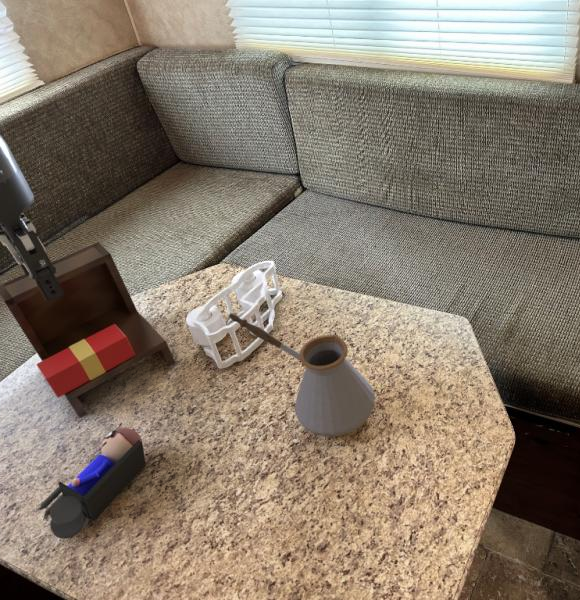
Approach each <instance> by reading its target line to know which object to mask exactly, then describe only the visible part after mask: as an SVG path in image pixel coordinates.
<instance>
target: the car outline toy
mask: <svg viewBox="0 0 580 600" xmlns="http://www.w3.org/2000/svg"><path fill="white" fill-rule="evenodd" d="M262 269H266V270H265V271H264V272H263V271H261V270H262ZM276 269H277V268H276V265H275V261H273V260H271V259H269V260H264V261H259V262H256V263H254V264H252V265H250V266H248V268H245V269H244V270H242V271H240V272H238V273H236V274H235V275H234V276H233V277H232V280H231V283H230V284H229V285H228V286H226V287H225V288H223V289H222V290H220V291H219V292H217V293H216V294H214V295H213V296H212V297H211V298H210V299H208V300H207V301H206V302H205V303H204V305H200V306H198V307H196V308H194V309H192V310H191V311H190V312H189V313H188V314H187V316H186V319H185V322H186V324H187V327H188V330H189V332H190V334H191V337H192V339H193V341H194V343H195V344H197V345H199V346H203V350H204V353H205V355H206V356H207V357H210V358H211V359H212V360H213V361H214V362H215V364H216V366H217V368H218V369H220V370H223V369H226V368H229V367H230V366H232V365H233V364H235V363H237V362H243V360H245V359H246V358H247V357H248V356H249V355H251V354H252V353H253V352H254V351H255V350H256V349H258V348H259V346H261V345H262V343H264V342H265V340H263V339H261V338H259V337H257V338H256V339H255V340H253V342H251V343H250V344H249V345H248V346H247V347H246V348H244V350H242V349H241V346H240V343H239V340H238V338H237V335H236V331H237V330H238V329H239V328H241V326H240V324H239V323H238V322H235V321H233V322H232V323H231V324H230V325H226V321H225V319H224V317H223V314H222V311H221V309H220V308H219V307H218V306H217V305H216V304H217V303H219V302H220V301H221V300H223V299H224V303H225V305H226V308H227V311H228V314H229V315H230V314H233V313H235V311H234V308H233V305H232V302H231V299H230V296H229V294H232V293H234V294H235V296H236V299H237V302H238V304H240V306H241V308H242V309H241V311H239V312H238V313H236V314H237V316H239V318H241V319H246V320H247V322H248V323H250V324H252V325H255V326H257V327H260V328H261V329H263V330H264V331H266V332H267V333H269V334H270V333H271V332H272V331H273V330H274V320H275V317H276V312H275V306H276V305H277V304H278V303H279V302H281V300H282V298H283V292H282V289H281V287H280V283H279V280H278V279H279V278H278V276H277V271H276ZM270 277H271V278H272V281H273V285H274V287H273V288H269V287H268V283H267V282H268V281H267V280H268V279H269V278H270ZM271 296H274V297H273V298H272V297H271ZM265 302H266V304H267V307H268V309H267V310H266V311H265V312H264V313H262V315H261V313H260V307H261V306H262V305H263V304H264V303H265ZM234 315H235V314H234ZM253 316H255V320H254V322H253V320H252V317H253ZM267 320H268V324H267V325H266V326H265V325H264V323H265V322H266V321H267ZM231 321H232V319H231V318H230V319H229V320H228V322H227V324H229V323H230V322H231ZM248 331H249V330H248ZM227 334H229V335H230V339H231V342H232V344H233V347H234V350H235V353H234V354H233V355H231V356H229V357H228V358H227V359H225V360H222V357H221V355H220V352H219V349H218V347H217V343H219V342H220V341H222V340H223V339H224V338H225V337H226V336H227ZM249 334H250V335H252V336H254V337H256V336H255V335H254V334H253V333H252V332H250V331H249Z"/></svg>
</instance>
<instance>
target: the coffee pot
mask: <svg viewBox="0 0 580 600" xmlns="http://www.w3.org/2000/svg"><path fill="white" fill-rule="evenodd" d="M234 314H235V315H234ZM237 314H238V313H237V312H235V311H234V313H233V314H229V315H228V317H227V320H226V321H225V322H226V325H230V324H231V323H232V322H233V321H235V322H238V323H239V324H240V328H245V329H246V330H248V331H250V332H252V333H253V334H254V335H255V336H254V335H253V336H254V337H257V338H258V337H259V338H261V339H263V340H264V342H266V343H269V344H271V345H273V346H274V347H276V348H278V349H280V350H282V351H284V352H285V353H287V354H288V355H289V356H292V357H293V358H294V359H296V360H297V361H300V363H301V364H302V365H303V366H304V367H305V370H304V373H303V375H302V380H301V382H300V385H299V389H298V392H297V395H296V399H295V403H294V411H295V412H294V413H295V416H296V418H297V420H298V422H299V423H300V424H301V426H303V427H304V429H306V430H307V431H308V432H311V433H313V434H314V435H317V436H320V437H325V438H326V437H327V438H330V437H331V438H332V437H333V438H334V437H341V436H344V435H347V434H350V433H352V432H354V431H356V430H357V429H359V428H360V427H362V426H363V425H364V424H365V423H366V421H367V420H368V419H369V418H370V416H371V414H372V412H373V410H374V408H375V400H376V396H375V392H374V388H373V386H372V385H371V384H370V382H369V381H368V380H367V378H365V377H364V376H363V375H362V374H361V372H360V371H359V370H358V369H357V368H356V367H355V366H354V365H353V364H352V363H351V361H349V359H347V356H348V352H349V348H348V344H346V341H344V339H343V338H342V337H341V336H339V335H337V334H327V335H326V334H324V335H320V336H316V337H314V338H311V339H310V340H308V341H307V342H306V343H304V344H303V346H302V348H301V349H300V351H297V350H295V349H294V348H292V347H289V345H286V344H285V343H284V342H282V341H280V340H279V339H278V338H276V337H275V336H273V335H272V334H270V333H267V332H266V331H264V330H263V329H261V328H260V327H257V326H255V325H252V324H250V323H248V322H247V320H246V319H241V318H239V316H237ZM229 319H232V321H231V322H230V323H229V324H227V322H228V320H229ZM250 332H249V333H250Z"/></svg>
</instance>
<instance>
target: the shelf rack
mask: <svg viewBox="0 0 580 600" xmlns="http://www.w3.org/2000/svg"><path fill="white" fill-rule="evenodd" d="M51 263H52V265H53V266H54V267H55V268H56V272H57V273H55V274H54V275H55V277H56V279H57V281H58V283H59V284H60V286H61V288H62V290H63V292H64V295H63V296H62V297H60V298H57V299H55V300H53V301H51V302H48V301H47V300H46V299H45V298H44V296H43V294H42V293H41V291H40V289H39V287H38V286H37V284H36V282H35V280H33V278H31V277H30V276H28V275H26V274H25V273H24V274H22V275H20V276H17V277H15V278H13V279H11V280H8V281H6V282H3V283H1V284H0V298H1V300H2V301H3V303H4V304H5V306H6V307H7V309H8V310H9V312H10V313H11V315H12V317H13V318H14V320H15V322H16V323H17V324H18V326H19V328H20V329H21V331H22V332H23V334H24V335H25V337H26V338H27V340H28V342H29V344H30V345H31V346H32V348H33V349H34V351H35V352H36V354H37V356H38V357H39V359H40V360H41V361H43V360H45V359H47V358H49V357H51V356H53V355H55V354H57V353H59V352H61V351H63V350H65V349H67V348H69V346H71V345H73V344H75V343H77V342H79V341H81V340H83V339H86V338H88V337H90V336H92V335H94V334H96V333H98V332H100V331H102V330H104V329H106V328H107V327H109V326H111V325H113V324H115V325H116V326H117V327H118V328H119V329H120V330H121V331H122V333H123V334H124V335H125V336H126V337H127V339H128V341H129V343H130V345H131V347H132V349H133V351H134V353H135V356H133V357H132V358H130V359H128V360H126V361H124V362H122V363H121V364H119V365H117V366H115V367H113V368H112V369H110V370H108V371H106V372H105V373H104V374H102V375H100V376H98V377H96V378H94V379H93V380H90V381H88V382H86V383H84V384H83V385H81V386H79V387H77V388H75V389H73V390H72V391H70V392H68V393H66V394H64V395H63V396H64V397H65V398H66V400H67V402H68V403H69V405H70V406H71V408H72V409H73V410H74V412H75V413H76V415H77V417H78V418H79V419H80V418H82V417H84V416H85V415H87V414H88V413H87V411H86V409H85V407H84V406H83V404H82V403H81V401H80V399H79V398H78V397H79V396H81V395H83V394H84V393H86V392H88V391H90V390H92V389H93V388H96V387H98V386H99V385H100V384H103V383H104V382H106V381H108V380H109V379H111V378H113V377H115V376H117V375H119V374H121V373H122V372H124V371H125V370H128V369H129V368H131V367H133V366H135V365H136V364H138V363H140V362H141V361H144V360H145V359H147V358H149V357H151V356H152V355H154V354H157V355H158V357H160V358H161V359H162V361H163V362H164V363H165V364H166V365H167V366H168V367H170V366H172V365H174V364H176V360H175V359H174V356H173V353H172V351H171V349H170V347H169V345H168V342H167V341H166V339H165V338H164V337H163V336H162V335H161V334H160V333H159V332H158V331H157V330H156V329H155V328H154V327H153V325H151V324H150V322H149V321H147V319H146V318H144V316H143V315H142V314H141V312H139V311H138V309H137V307H136V305H135V303H134V301H133V299H132V296H131V293H129V292H130V291H129V290H128V288H127V286H126V284H125V282H124V279H123V278H122V275H121V273H120V271H119V269H118V266H117V265H116V263H115V260H114V257H113V256H112V255H111V252H109V250H108V249H107V248H106V247H105V246H104V245H102V244H101V243H100V242H99V241H97V242H94V243H92V244H90V245H88V246H86V247H83V248H81V249H79V250H76V251H74V252H72V253H70V254H67V255H65V256H62V257H60V258H58V259H56V260H53V261H51Z"/></svg>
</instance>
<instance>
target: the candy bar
mask: <svg viewBox="0 0 580 600" xmlns="http://www.w3.org/2000/svg"><path fill="white" fill-rule="evenodd" d="M133 356H135V353H134V351H133V349H132V347H131V345H130V343H129V341H128V339H127V337H126V336H125V335H124V334H123V333H122V331H121V330H120V329H119V328H118V327H117V326H116V325H115V324H113V325H111V326H109V327H107V328H106V329H104V330H102V331H100V332H98V333H96V334H94V335H92V336H90V337H88V338H86V339H83V340H81V341H79V342H77V343H75V344H73V345H71V346H69V348H67V349H65V350H63V351H61V352H59V353H57V354H55V355H53V356H51V357H49V358H47V359H45V360H43V361H42V360H41V361H39V362H38V363H36V367H37V368H38V370H39V371H40V373H41V374H42V376H43V377H44V379H45V380H46V382H47V384H48V385H49V387H50V388H51V390H52V392H54V394H55V396H56V397H57V399H58V398H61V397H63V396H65V395H64V394H66V393H68V392H70V391H72V390H73V389H75V388H77V387H79V386H81V385H83V384H84V383H86V382H88V381H90V380H93V379H94V378H96V377H98V376H100V375H102V374H104V373H105V372H106V371H108V370H110V369H112V368H113V367H115V366H117V365H119V364H121V363H122V362H124V361H126V360H128V359H130V358H132V357H133Z"/></svg>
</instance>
